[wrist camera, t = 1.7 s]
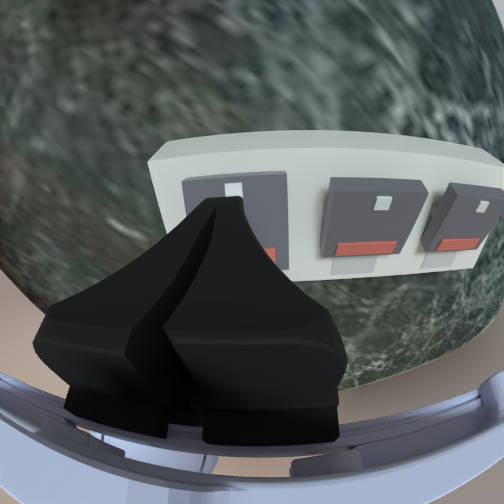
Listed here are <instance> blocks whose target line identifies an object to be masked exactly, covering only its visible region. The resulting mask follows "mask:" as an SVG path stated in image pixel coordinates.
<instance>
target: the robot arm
mask: <svg viewBox="0 0 504 504" xmlns="http://www.w3.org/2000/svg"><path fill="white" fill-rule="evenodd" d="M33 347H34V350H35V352H36V354H37V355H38V357H39V358H40V359H41V360H42V361H43V362H44V363H45V364H46V365H47V366H48V367H49V368H50V369H51V370H52V371H53V372H54V373H55V374H57V375H58V376H59V377H60V378H61V379H62V380H64V381H65V382H66V383H67V384H68V385H70V387H69V391H68V394H67V397H66V399H64V398H61V397H58V396H55V395H52V394H50V393H47V392H45V391H42V390H40V389H37V388H35V387H32V386H30V385H27V384H25V383H23V382H20V381H18V380H16V379H14V378H12V377H10V376H8V375H6V374H4V373H1V372H0V487H1V488H2V489H3V490H4V491H6V492H7V493H8V494H9V495H10V496H12V497H13V498H14V499H16V500H17V501H18V502H19V503H21V504H428V503H430V502H432V501H434V500H436V499H438V498H440V497H442V496H444V495H446V494H447V493H449V492H451V491H453V490H455V489H456V488H458V487H460V486H461V485H463V484H465V483H466V482H468V481H470V480H471V479H473V478H474V477H476V476H478V475H479V474H481V473H482V472H483V471H485V470H486V469H488V468H489V467H491V466H492V465H493V464H495V463H496V462H498V461H499V460H500V459H502V458H503V457H504V369H503V370H501V371H499V372H497V373H495V374H494V375H492V376H491V377H489V378H488V379H487V380H486V381H485V382H484V383H482V385H480V387H479V388H477V389H474V390H472V391H469V392H467V393H464V394H461V395H459V396H456V397H453V398H450V399H447V400H445V401H441V402H438V403H435V404H432V405H428V406H425V407H422V408H418V409H414V410H411V411H407V412H403V413H399V414H394V415H390V416H386V417H380V418H376V419H370V420H365V421H359V422H353V423H346V424H339V423H338V413H337V406H338V405H339V398H338V389H337V388H338V386H339V384H340V381H341V379H342V377H343V375H344V373H345V371H346V368H347V362H348V361H347V356H346V351H345V348H344V345H343V342H342V339H341V336H340V334H339V331H338V329H337V327H336V325H335V323H334V321H333V319H332V317H331V315H330V313H329V311H328V310H327V309H325V308H324V307H323V306H321V305H320V304H319V303H317V302H316V301H314V300H313V299H312V298H310V297H309V296H308V295H307V294H305V293H304V292H303V291H302V290H301V289H300V288H299V287H298V286H296V285H295V284H294V283H293V282H292V281H291V280H290V279H289V278H288V277H287V276H286V275H285V274H284V273H283V272H282V271H281V270H280V269H279V267H278V266H277V265H276V264H275V263H274V262H273V261H272V259H271V258H270V257H269V256H268V254H267V253H266V252H265V250H264V249H263V247H262V246H261V244H260V243H259V241H258V240H257V238H256V236H255V234H254V233H253V231H252V229H251V227H250V225H249V223H248V220H247V218H246V216H245V213H244V204H243V198H242V197H241V196H227V197H213V198H205V199H204V200H203V201H202V202H201V203H200V204H199V205H198V206H197V207H196V208H195V209H194V210H193V211H192V212H190V213H189V214H188V215H187V216H186V217H185V218H184V219H183V220H182V221H181V222H180V223H179V224H178V225H177V226H176V227H175V228H173V229H172V230H171V231H170V232H169V233H168V234H167V235H166V236H164V237H163V238H162V239H161V240H160V241H159V242H158V243H156V244H155V245H154V246H153V247H151V248H150V249H149V250H147V251H146V252H145V253H143V254H142V255H141V256H139V257H138V258H137V259H135V260H134V261H132V262H131V263H129V264H128V265H126V266H125V267H123V268H121V269H120V270H118V271H117V272H115V273H114V274H112V275H111V276H109V277H107V278H105V279H104V280H102V281H100V282H99V283H97V284H95V285H93V286H91V287H89V288H87V289H86V290H84V291H82V292H80V293H77V294H75V295H73V296H71V297H69V298H67V299H64V300H62V301H60V302H58V303H56V304H53V305H51V306H50V308H49V310H48V311H47V313H46V315H45V317H44V319H43V321H42V323H41V326H40V328H39V330H38V332H37V334H36V336H35V338H34V341H33ZM76 426H79V427H81V428H84V429H87V430H90V434H89V433H87V432H85V431H82V430H80V429H78V428H77V427H76ZM327 453H329V454H327ZM318 454H324V455H319V456H313V457H307V458H301V459H295V460H293V461H292V462H291V468H290V477H277V478H276V477H275V478H274V477H272V478H267V477H238V476H225V475H215V474H212V472H213V470H214V468H215V466H216V463H217V460H218V456H228V457H293V456H308V455H318Z"/></svg>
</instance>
